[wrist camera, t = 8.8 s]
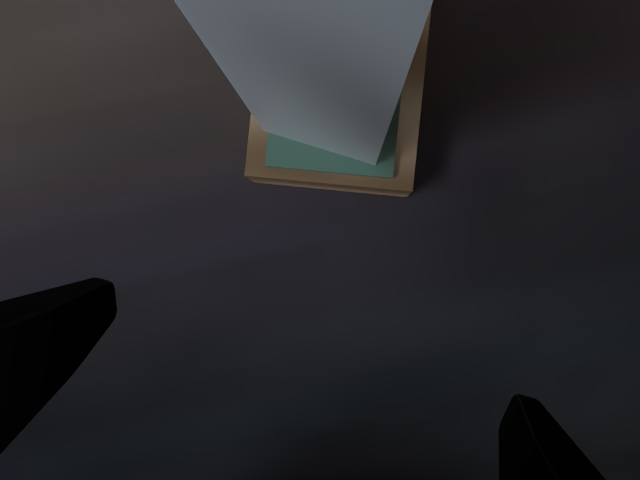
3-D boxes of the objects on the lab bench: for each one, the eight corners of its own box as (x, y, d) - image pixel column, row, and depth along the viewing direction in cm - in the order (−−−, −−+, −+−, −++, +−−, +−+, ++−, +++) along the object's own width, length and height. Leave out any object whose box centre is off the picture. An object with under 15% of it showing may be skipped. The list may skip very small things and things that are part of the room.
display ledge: (406, 197, 21) (450, 158, 12) (253, 182, 22) (189, 135, 13) (429, -33, 22) (489, -232, 13) (277, -42, 22) (231, -241, 13)
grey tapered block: (375, 165, 19) (436, -9, 6) (263, 130, 20) (104, -102, 7) (408, 62, 19) (537, -321, 6) (296, 30, 20) (201, -397, 7)
